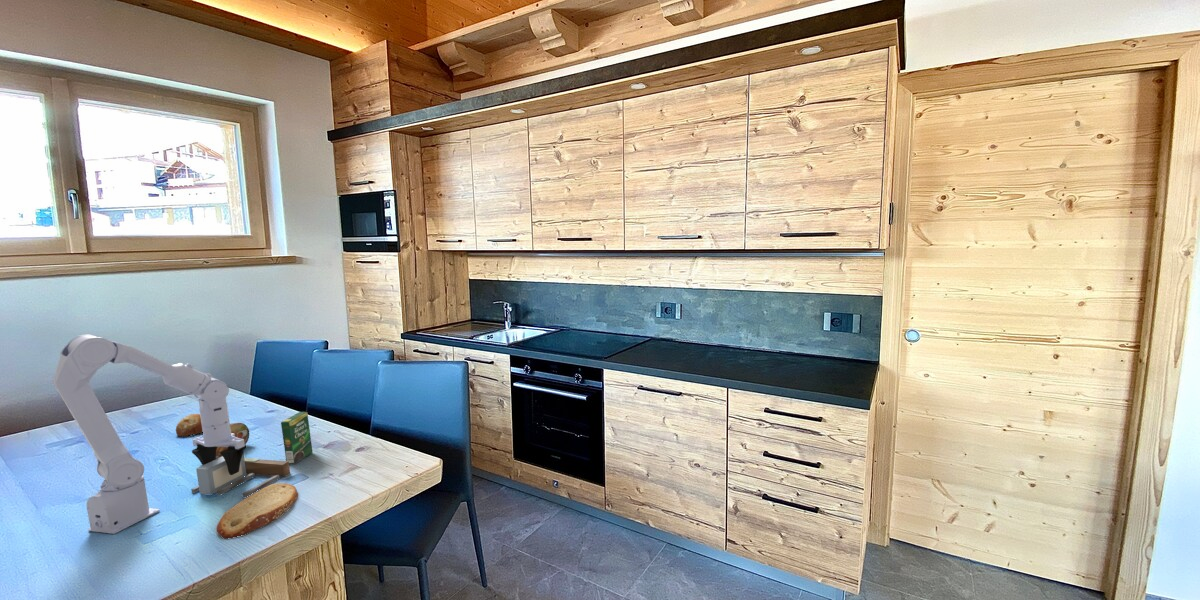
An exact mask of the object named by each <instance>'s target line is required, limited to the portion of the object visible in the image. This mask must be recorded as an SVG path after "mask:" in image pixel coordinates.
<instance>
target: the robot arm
mask: <svg viewBox="0 0 1200 600" xmlns="http://www.w3.org/2000/svg"><path fill="white" fill-rule="evenodd" d="M108 363H111V364H126V363H127V364H131V365H133V366H136V367H138V368H141V369H144V370H145V371H149V372H151V373H154V374H156V375H159V376H160V377H162V381H163V384H164V385H167V386H169V387H171V388H174V389H175V390H179V391H182V392H184V393H186V394H189V395H193V396H194V397H195V399H196V398H197V399H198V405H199V408H198V409H199V414H200V417H201V424H202V431H203V433H202V436H197V437H195V438H192V446H193V447H196V448H193V449H192V450H191V453H192V454H193V455H194V456H195V457H196V458H197V459H198V460H199V462H200V463H201V466H202V465H205V464H207V463H209V462H211V461H213V460H216V450H217V447H228V449H226V450H224V451H222V452H220V454H221V455H222V456H223V458H224V459H225V461H226V464H227V468H228V472H229V474H230V475H233V474H235V473H237V472H239V468H240V462H241V458H242V455H243V453H244V452H245V451H246V449H247V444H246V445H245V444H244V439H239V438H237V437H234V436H235V434H234V433H231V429H230V424H231V422H230V416H229V410H228V403H227V396H228V395H229V392H230V387H228V385H227V384H226V382H225V381H223V380H220V379H218V378H215V377H213V374H211V373H209V372H206V373H205V372H202V371H199V370H198V369H195V368H194V365H193V364H191V363H188V362H187V363H185V364H184V363H182V362H179V363H176V364H169V363H168V362H165V361H164V360H161V359H160V358H157V357H154V356H153V355H151V354H149V353H146V352H144V351H142V350H141V349H138V348H136V347H134V346H131V345H127V344H124V343H121V342H117V341H115V340H114V341H113V340H110V339H108V338H104V337H99V336H98V335H95V334H91V333H90V334H87V333H85V334H79V335H77V336H75V337H73V338H72V339H70V341H69V342H68V343H67V344H66V345H64V347H63V348H62V349H61V350H60V354H59V360H58V363H57V366H56V369H55V373H54V376H53V380H52V383H53V386H54V387H55V389H56V390H57V392H58V394H59V395H60V397H61V399H62V401H63V402H64V403H65V406H66V407H67V409H68V410H69V412H70V415H71V417H73V420H74V421H75V423H76V424H77V426H78V428H79V429H80V431H81V433H82V434H83V437H84V438H85V439H86V441H87V442H88V444H89V446H90V448H91V449H92V451H93V454H94V458H95V459H96V461H97V464H96V465H97V466H96V472H97V474H98V475H99V476H100V477H101V478H103V479H104V480H103V481H102V483H101V485H100V490H99V491H97V493H95V494H94V495H92V496H90V497H89V498H88V499H87V501H86V510H87V511H86V512H87V517H88V522H89V528H88V529H87V530H88V531H89V532H94V533H95V532H96V533H105V534H113V535H114V534H117V533H120V532H121V531H123V530H125V529H128V528H129V527H132V526H133V525H134V524H137V523H139V522H141V521H143V520H145V519H147V518H148V517H151V516H152V515H153V516H154V515H155V514H157V513H159V512H160V508H152V507H149V501H148V494H147V487H146V482H145V476H144V474H145V473H144V472H145V466H144V464H143V463H142V462H141V461H140V460H138V459H136V458H135V457H134V456H133V455H132V454H131V452H130V451H129V450H128V449H127V447H126V446H125V444H124V443H123V442H122V440H121V438H120V436H119V434H118V433H117V431H116V429H115V428H114V425H113V424H112V422H111V420H110V419H109V418H108V415H107V414H106V412H105V410H104V408H103V407H102V405H101V403H100V401H99V400H98V398H97V396H96V394H95V392H94V390H93V388H92V387H91V385H90V384H89V382H90V381H91V379H92V378H93V377H94V375H95V374H96V373H97V372H98V370H99V369H101V368H102V367H104V366H106V364H108ZM244 454H245V453H244Z"/></svg>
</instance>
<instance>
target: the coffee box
mask: <svg viewBox="0 0 1200 600" xmlns="http://www.w3.org/2000/svg"><path fill="white" fill-rule="evenodd" d="M309 421H310V420H309V415H308V412H307V411H299V412H297V413H295V414H294V415H292V416H289V417H288V418H286V419H284V420H282V421H280V426H281V433H282V434H281V435H282V440H283V448H284V454H285V461H289V465H296V464H298V463H299V462H301V460H303V459H305V458H306V457H308V456H310V455H311V454H312V453H313V445H312V436H311V430H310V423H309Z"/></svg>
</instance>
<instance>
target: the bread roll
mask: <svg viewBox="0 0 1200 600" xmlns="http://www.w3.org/2000/svg"><path fill="white" fill-rule="evenodd" d="M202 432H203V431H202V424H201V417H200V413H191V414H189V415H187V416H185V417H183V418H182V419H181V420H180V421H179V422H178V423H177V424H176V426H175V433H176V435H177V436H178V437H180V436H186V437H189V436H188V435H192V434H197V433H201V434H203V433H202ZM197 435H198V434H197ZM192 436H193V435H192Z"/></svg>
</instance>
